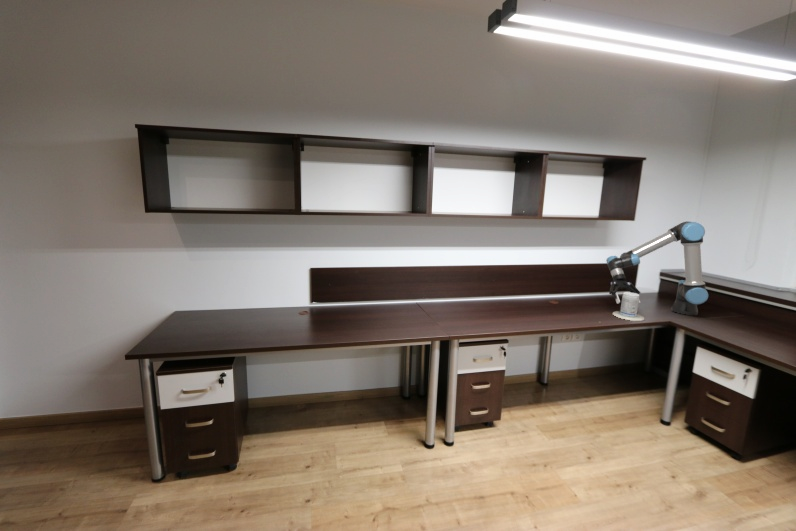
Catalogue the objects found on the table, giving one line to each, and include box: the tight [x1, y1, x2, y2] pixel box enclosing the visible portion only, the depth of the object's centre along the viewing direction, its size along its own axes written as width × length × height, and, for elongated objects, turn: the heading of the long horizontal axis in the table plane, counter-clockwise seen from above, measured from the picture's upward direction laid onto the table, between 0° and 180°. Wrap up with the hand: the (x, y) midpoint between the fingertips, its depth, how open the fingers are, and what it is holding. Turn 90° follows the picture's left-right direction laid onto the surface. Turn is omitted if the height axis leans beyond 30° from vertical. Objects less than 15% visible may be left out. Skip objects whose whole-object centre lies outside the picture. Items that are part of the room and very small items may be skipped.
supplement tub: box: [619, 291, 640, 317], centre depth 246 cm, size 10×10×15 cm
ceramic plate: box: [612, 310, 645, 322], centre depth 247 cm, size 18×18×1 cm
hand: (628, 303), depth 246 cm, fingers open, 13 cm apart
